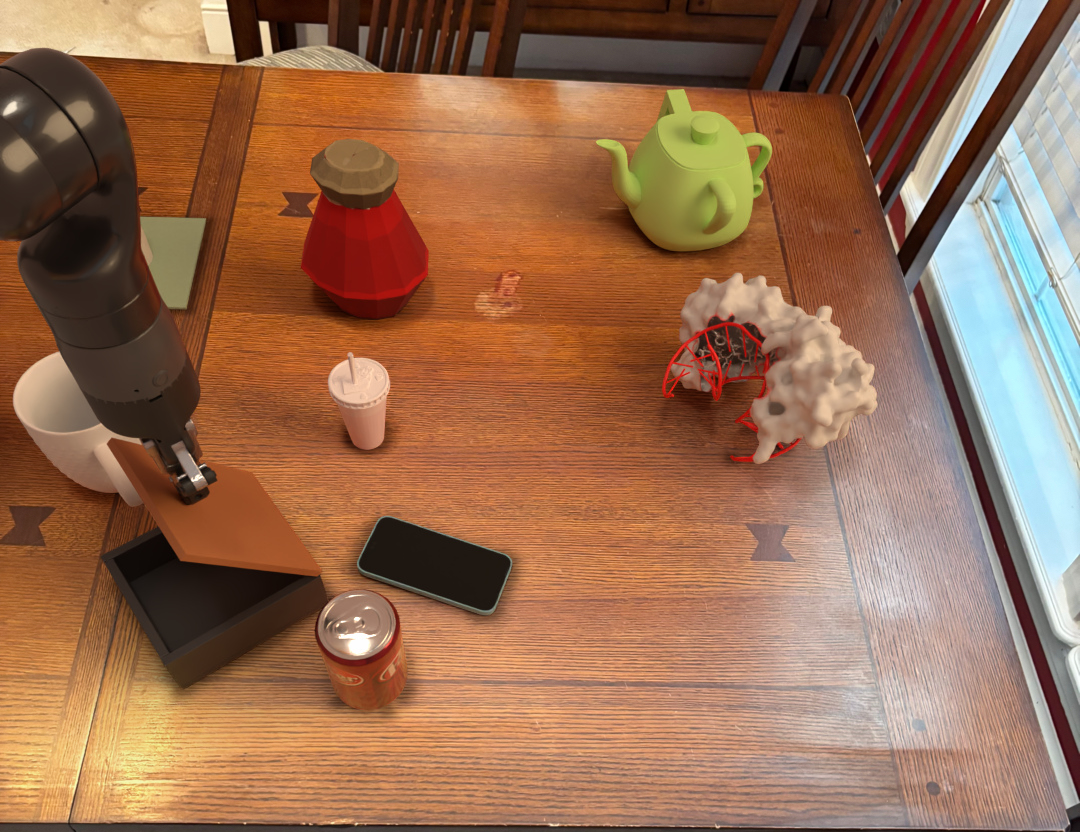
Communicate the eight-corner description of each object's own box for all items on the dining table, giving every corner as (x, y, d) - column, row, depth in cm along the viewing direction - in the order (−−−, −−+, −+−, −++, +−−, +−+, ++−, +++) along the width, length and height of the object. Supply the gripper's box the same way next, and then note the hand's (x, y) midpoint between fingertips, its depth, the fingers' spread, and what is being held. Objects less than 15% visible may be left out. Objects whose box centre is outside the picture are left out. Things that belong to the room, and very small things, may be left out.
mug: (203, 506, 95) (167, 431, 84) (101, 555, 92) (49, 483, 80) (147, 412, 101) (107, 330, 90) (49, 454, 97) (-6, 374, 86)
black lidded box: (182, 690, 85) (164, 666, 80) (120, 584, 90) (99, 555, 85) (329, 603, 91) (320, 576, 85) (262, 509, 96) (251, 477, 91)
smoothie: (327, 442, 101) (307, 356, 89) (362, 405, 104) (347, 317, 92) (373, 468, 99) (359, 385, 87) (407, 430, 102) (399, 345, 90)
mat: (50, 307, 108) (49, 304, 108) (80, 217, 116) (79, 214, 116) (186, 309, 109) (185, 307, 109) (206, 220, 118) (205, 218, 117)
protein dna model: (661, 488, 109) (856, 512, 92) (600, 368, 99) (809, 369, 81) (735, 383, 118) (927, 386, 100) (687, 262, 107) (893, 243, 90)
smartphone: (492, 615, 90) (353, 568, 91) (491, 620, 91) (354, 573, 92) (515, 556, 94) (381, 512, 95) (514, 561, 95) (382, 517, 96)
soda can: (398, 634, 89) (389, 577, 79) (416, 700, 86) (408, 650, 76) (325, 652, 88) (306, 597, 78) (340, 721, 84) (322, 673, 74)
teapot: (769, 208, 126) (802, 114, 114) (704, 290, 117) (732, 197, 105) (654, 155, 130) (673, 59, 118) (582, 230, 121) (595, 135, 109)
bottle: (289, 318, 110) (255, 178, 93) (332, 245, 117) (307, 103, 99) (411, 349, 108) (399, 213, 91) (447, 274, 115) (442, 135, 98)
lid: (180, 561, 70) (186, 553, 70) (106, 443, 75) (111, 436, 75) (317, 576, 85) (322, 571, 85) (247, 478, 90) (252, 472, 90)
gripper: (36, 320, 63) (119, 463, 78) (117, 445, 58) (190, 572, 73) (137, 278, 66) (199, 424, 81) (223, 394, 61) (273, 527, 76)
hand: (195, 494), depth 77 cm, fingers closed
